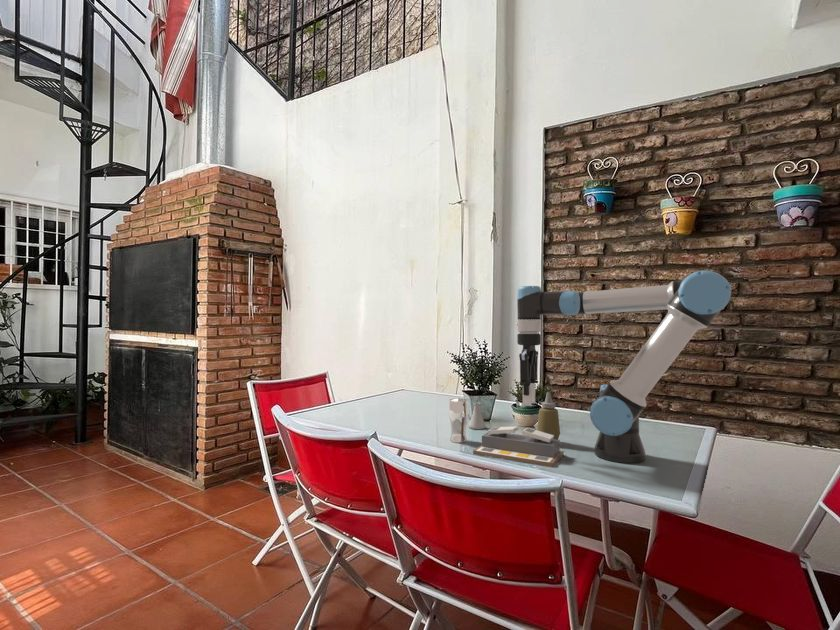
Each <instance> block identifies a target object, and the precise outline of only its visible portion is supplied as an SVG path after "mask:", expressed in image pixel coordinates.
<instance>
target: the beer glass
mask: <svg viewBox="0 0 840 630" xmlns="http://www.w3.org/2000/svg"><path fill="white" fill-rule="evenodd" d="M448 414H449V424H450V428H451V431H450V432H451V433H450V439H449V440H450V442H451V443H455V444H464V443H467V441H468V439H467V438H468V437H467V431H466V430H467V425H468V418H469V403H468V399H467V398H464V397H463V398H461V397H459V398H458V397H456V398H450V399H449V406H448Z"/></svg>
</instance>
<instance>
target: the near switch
mask: <svg viewBox="0 0 840 630" xmlns="http://www.w3.org/2000/svg"><path fill="white" fill-rule="evenodd" d="M521 435H526V436H530V437H533V438H536V439H539V440H542V441H546V442H549V443H550V442H551V441H552V440H553V438H554V435H551V434H547V433H544V432H541V431H538V430H537V429H534V428H531V427H526V428H525V429H523V430H522V433H521Z"/></svg>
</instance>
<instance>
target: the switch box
mask: <svg viewBox="0 0 840 630" xmlns="http://www.w3.org/2000/svg"><path fill="white" fill-rule="evenodd" d="M560 441H561V440H560V439H558V440H556V439H553V440H552V441H551V442H550V443H549V442H546V441H542V440H539V439H536V438H533V437H530V436H527V435H523V434H519V433H503V434H488V432H486V433H484V434H482V435H481V445H480V446H477V447H476V448H475V449H473V450H472V451H473V453H472V454H473V455H476V454H478V456H482V455H486V456H485V457H488V456H492V457H491V458H495V457H498V458H497V459H501V458H503V459H502V460H507V461H512V462H520V463H525V464H531V463H532V465H538V466H545V467H549V466H550V467H549V468H554V466H555V465H556V464H557V463H558V462H559V461H561V459H562V458H563V456H564V453H565V451H564V450H563V451H562V450H561V449H560V447H561V445H560V444H561V442H560Z"/></svg>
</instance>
